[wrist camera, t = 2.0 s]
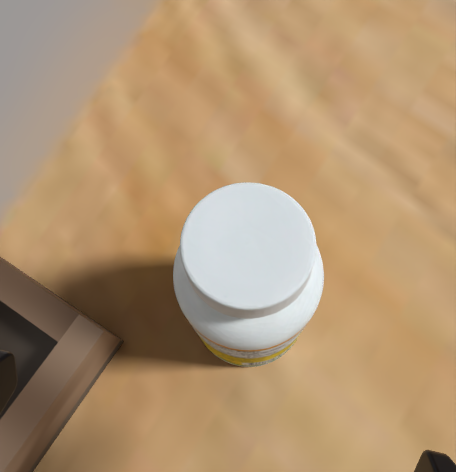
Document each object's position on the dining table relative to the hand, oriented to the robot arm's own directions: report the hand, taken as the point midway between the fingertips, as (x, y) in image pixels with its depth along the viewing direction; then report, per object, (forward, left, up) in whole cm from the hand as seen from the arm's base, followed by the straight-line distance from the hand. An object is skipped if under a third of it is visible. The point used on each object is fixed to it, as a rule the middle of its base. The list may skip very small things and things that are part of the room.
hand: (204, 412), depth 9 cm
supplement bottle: (+4, +2, -11) cm, 12 cm away
